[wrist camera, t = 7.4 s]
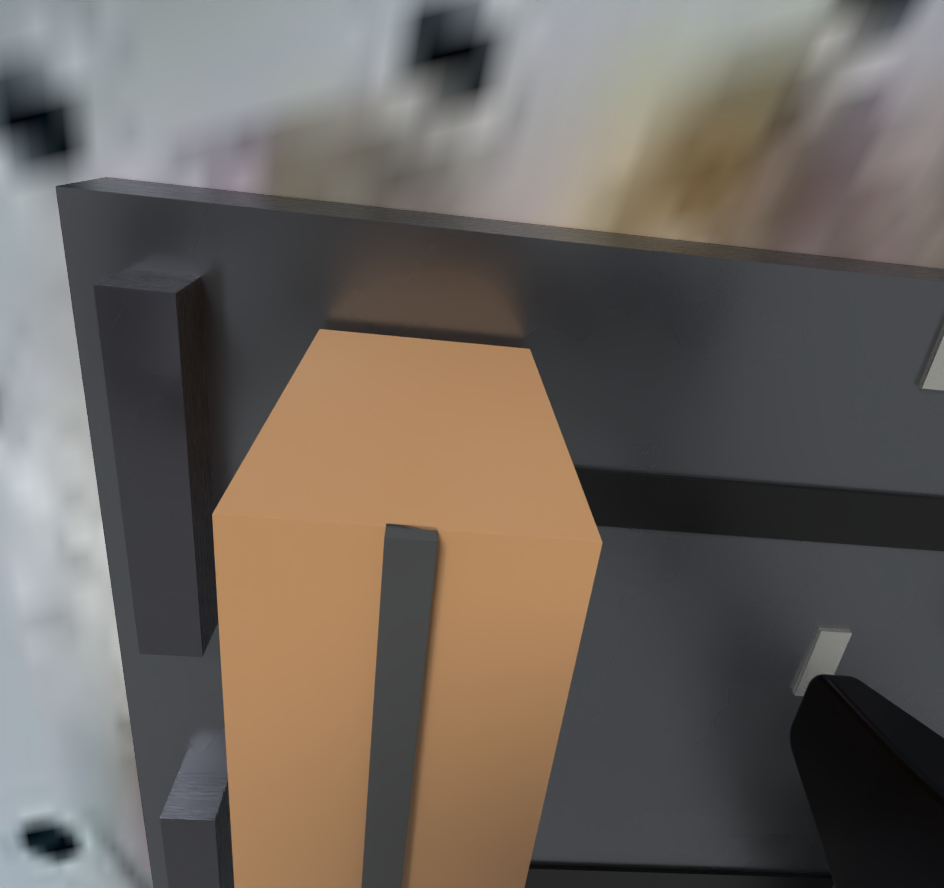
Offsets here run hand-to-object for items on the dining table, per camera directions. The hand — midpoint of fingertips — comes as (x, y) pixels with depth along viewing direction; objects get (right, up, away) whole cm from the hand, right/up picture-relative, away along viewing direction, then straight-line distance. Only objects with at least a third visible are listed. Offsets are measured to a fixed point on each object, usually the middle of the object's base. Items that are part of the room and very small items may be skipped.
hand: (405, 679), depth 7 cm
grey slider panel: (+3, -2, +8) cm, 8 cm away
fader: (0, +2, +3) cm, 4 cm away
